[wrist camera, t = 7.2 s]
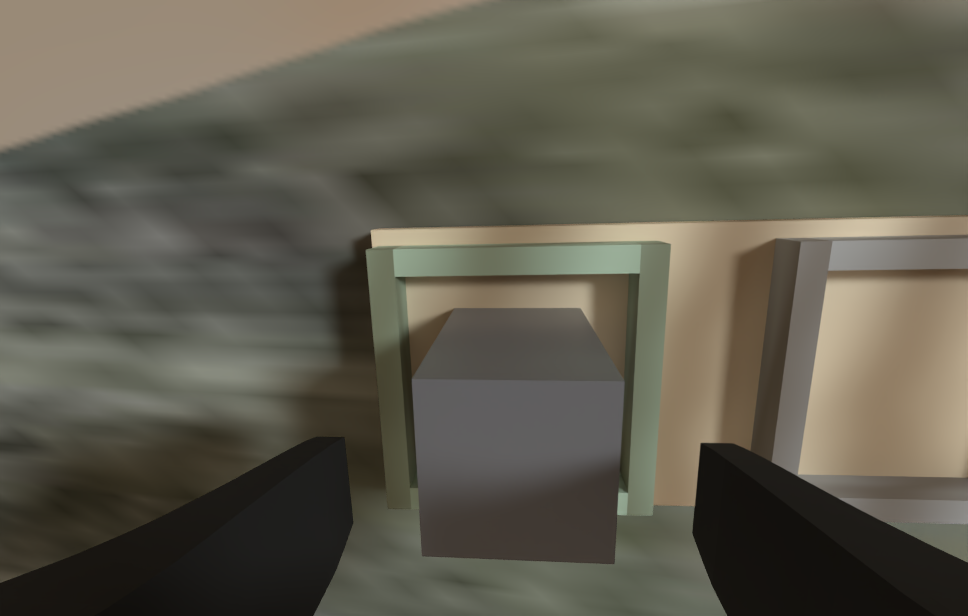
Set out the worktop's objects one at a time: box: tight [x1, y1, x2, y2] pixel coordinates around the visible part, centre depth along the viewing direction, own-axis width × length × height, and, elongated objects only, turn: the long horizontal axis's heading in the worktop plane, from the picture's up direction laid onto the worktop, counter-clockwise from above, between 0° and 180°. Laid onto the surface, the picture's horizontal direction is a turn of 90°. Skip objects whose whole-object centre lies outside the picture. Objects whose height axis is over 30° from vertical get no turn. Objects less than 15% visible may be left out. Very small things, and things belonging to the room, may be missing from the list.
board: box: [366, 215, 968, 524], centre depth 14 cm, size 21×10×2 cm, turn 91°
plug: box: [412, 308, 625, 564], centre depth 12 cm, size 4×4×6 cm
